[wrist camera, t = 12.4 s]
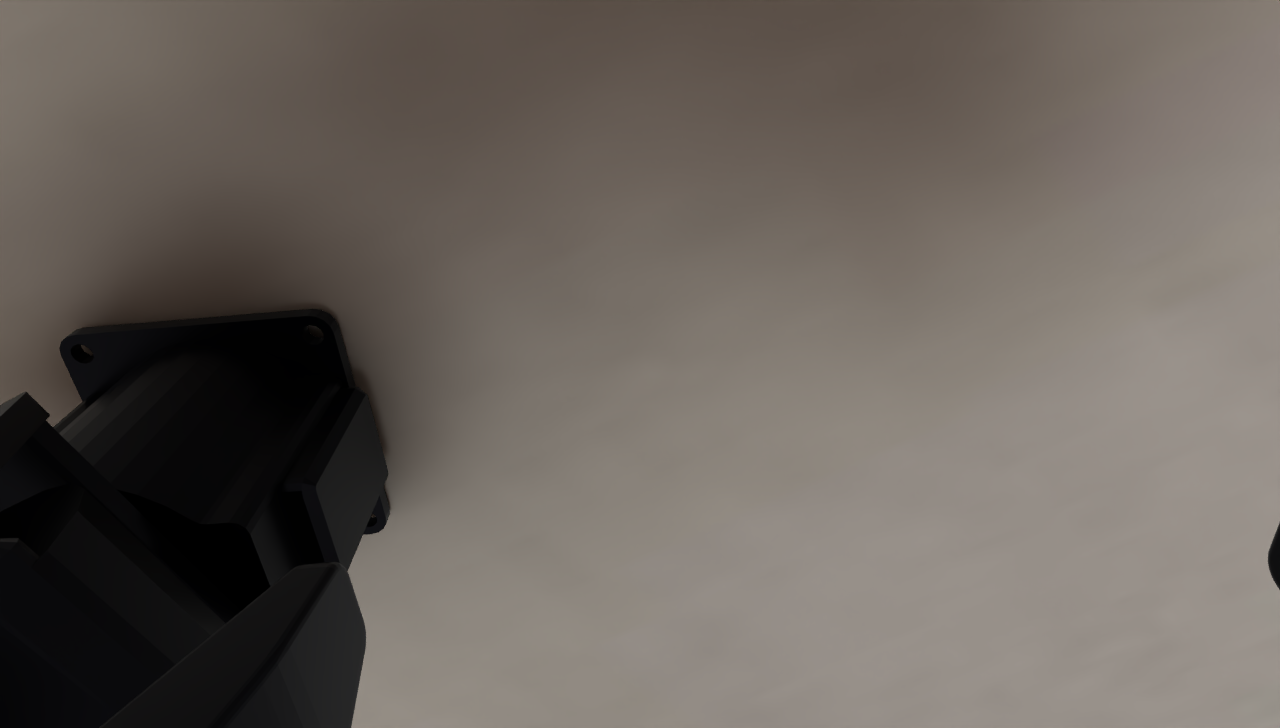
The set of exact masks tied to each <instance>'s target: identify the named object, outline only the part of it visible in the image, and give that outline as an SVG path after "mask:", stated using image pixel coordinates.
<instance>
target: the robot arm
mask: <svg viewBox="0 0 1280 728" xmlns="http://www.w3.org/2000/svg"><path fill="white" fill-rule="evenodd" d="M309 325H312V326H316V327H318V328H319V329H321V331H322V332H323V334H324V337H322V338H320V337H315V336H313V335H312V334H310V332H309V330H308V326H309ZM81 345H85V346H86V347H88V348H90V350H91V351H92V352H93V355H89V354H87V353H86V352H84V350H83V349H82V348H81ZM60 353H61V356H62V358H63V361H64V363H65V365H66V367H67V369H68V371H69V373H70V376H71V378H72V380H73V382H74V384H75V386H76V388H77V391H78V393H79V395H80V397H81V399H82V401H83V402H82V403H81V404H80V405H78V406H77V407H76V408H75V409H74V410H73V411H71V412H70V413H69V414H68V415H67V416H66V417H64V418H63V419H62V420H61V421H60V422H59V423H58V424H56V425H55V426H54V427H52V426H51V425H50V424H49V423H48V422H47V421H46V419H47V418H48V417H49V416H50V414H49V413H48V412H46V411H45V410H44V409H43V408H42V407H41V406H40V405H39V404H38V403H37V402H36V401H35V400H34V399H33V398H32V397H31V396H30V395H29V394H28V393H27V392H24V393H22V394H20V395H18V396H16V397H14V398H12V399H11V400H9V401H7V402H5V403H3V404H2V405H0V728H351V725H352V720H353V714H354V709H355V703H356V698H357V692H358V687H359V681H360V676H361V670H362V665H363V659H364V654H365V647H366V630H365V624H364V620H363V617H362V614H361V611H360V608H359V605H358V602H357V599H356V596H355V593H354V589H353V586H352V583H351V580H350V577H349V574H348V572H347V571H348V569H349V566H350V564H351V562H352V559H353V557H354V555H355V552H356V550H357V547H358V545H359V543H360V540H361V538H362V536H363V535H364V534H373V533H377V532H379V531H381V530H382V529H384V527H385V525H386V523H387V520H388V517H389V515H390V508H389V505H388V501H387V497H386V494H385V490H384V487H383V486H384V484H385V481H386V479H387V476H388V469H387V465H386V462H385V458H384V454H383V451H382V447H381V443H380V440H379V436H378V432H377V429H376V425H375V421H374V418H373V414H372V410H371V406H370V403H369V399H368V396H367V394H366V393H364V392H363V391H362V390H361V389H360V388H359V387H356V386H355V382H354V379H353V375H352V371H351V368H350V364H349V361H348V357H347V353H346V350H345V346H344V343H343V339H342V335H341V332H340V328H339V325H338V323H337V321H336V319H335V318H334V317H332V316H331V315H330V314H329V313H327V312H325V311H323V310H318V309H307V310H294V311H282V312H270V313H258V314H246V315H233V316H221V317H209V318H197V319H184V320H172V321H160V322H148V323H136V324H123V325H111V326H99V327H87V328H81V329H78V330H75V331H74V332H73V333H71V334H70V335H68V336H67V337H66V338H65V339H64V340H63V341H62V342H61V344H60ZM371 514H374V515H375V516H376V517H371ZM1268 565H1269V570H1270V573H1271V575H1272V578H1273V580H1274V581H1275V583H1276V585H1277V586H1278V588H1279V590H1280V523H1279V526H1278V528H1277V531H1276V533H1275V536H1274V539H1273V541H1272V544H1271V547H1270V549H1269V553H1268Z"/></svg>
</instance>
